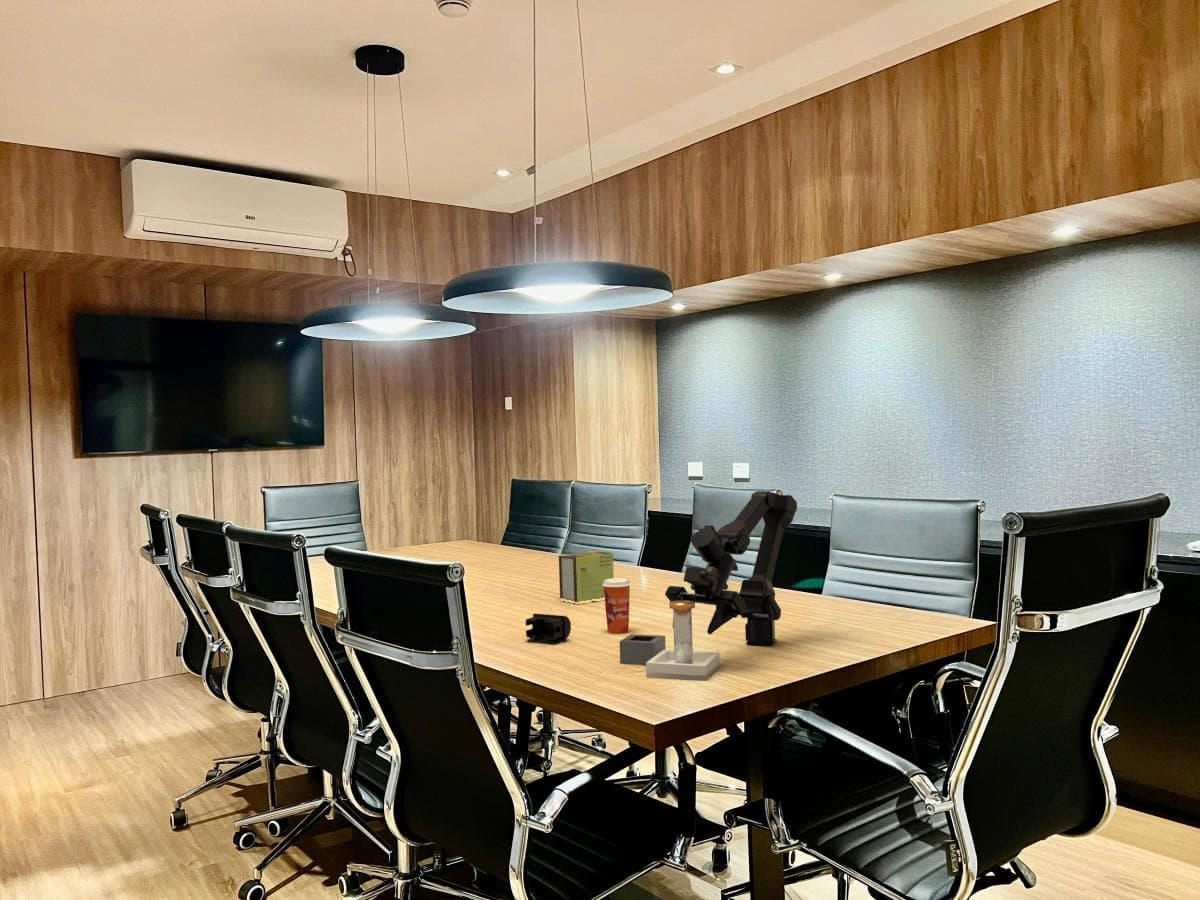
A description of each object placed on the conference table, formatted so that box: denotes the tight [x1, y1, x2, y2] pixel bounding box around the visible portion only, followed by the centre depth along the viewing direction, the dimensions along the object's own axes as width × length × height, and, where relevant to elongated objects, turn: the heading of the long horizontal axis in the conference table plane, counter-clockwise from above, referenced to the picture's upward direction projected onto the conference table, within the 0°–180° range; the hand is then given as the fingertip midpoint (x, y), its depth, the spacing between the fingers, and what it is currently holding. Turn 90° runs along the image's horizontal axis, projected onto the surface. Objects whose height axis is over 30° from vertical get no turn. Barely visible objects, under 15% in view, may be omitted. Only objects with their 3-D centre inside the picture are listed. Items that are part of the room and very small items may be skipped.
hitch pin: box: [668, 601, 696, 664], centre depth 194 cm, size 6×6×14 cm
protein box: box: [558, 550, 615, 602], centre depth 293 cm, size 10×15×16 cm
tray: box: [645, 649, 721, 681], centre depth 194 cm, size 13×13×3 cm
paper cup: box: [603, 577, 632, 635], centre depth 239 cm, size 8×8×14 cm
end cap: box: [525, 613, 572, 646], centre depth 230 cm, size 10×7×7 cm
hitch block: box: [618, 633, 667, 666], centre depth 205 cm, size 8×8×5 cm
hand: (691, 631), depth 196 cm, fingers open, 9 cm apart
